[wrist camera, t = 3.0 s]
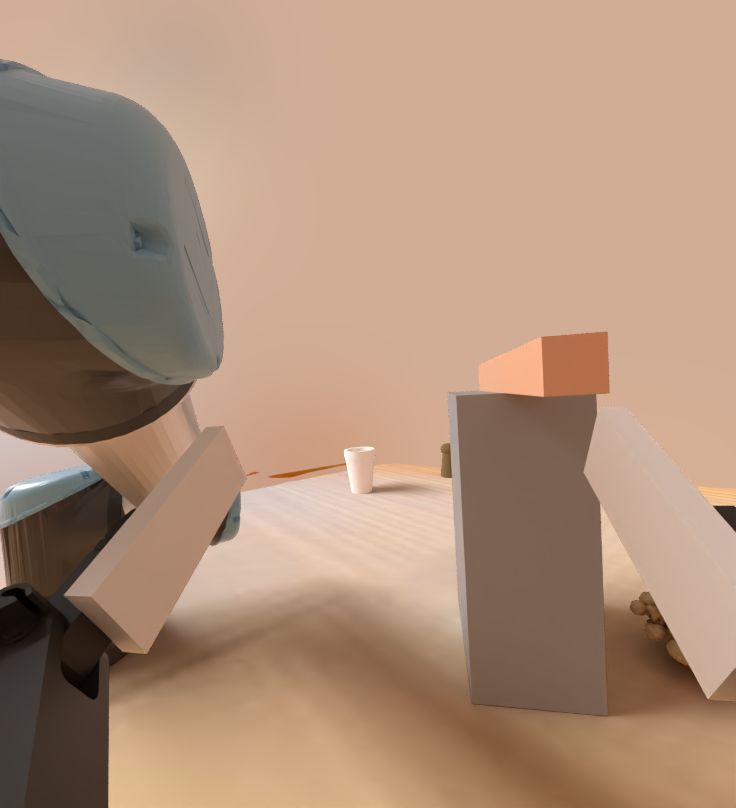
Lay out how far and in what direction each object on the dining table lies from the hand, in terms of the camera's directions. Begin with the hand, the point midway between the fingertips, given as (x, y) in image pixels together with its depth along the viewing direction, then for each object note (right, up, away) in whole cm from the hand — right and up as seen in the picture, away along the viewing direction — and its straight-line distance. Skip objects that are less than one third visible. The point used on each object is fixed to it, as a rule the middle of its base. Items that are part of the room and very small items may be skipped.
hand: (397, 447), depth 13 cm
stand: (+16, -27, +29) cm, 43 cm away
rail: (+13, +3, +21) cm, 25 cm away
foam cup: (-3, -26, +98) cm, 101 cm away
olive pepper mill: (+27, -23, +110) cm, 116 cm away
